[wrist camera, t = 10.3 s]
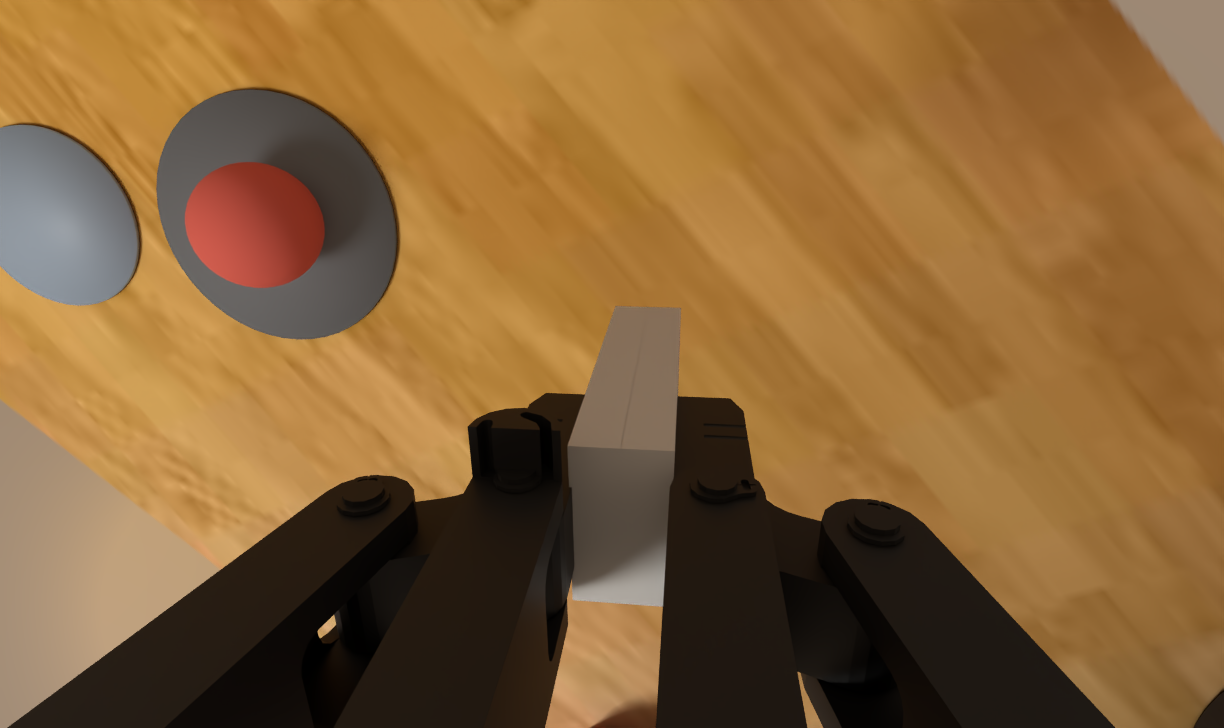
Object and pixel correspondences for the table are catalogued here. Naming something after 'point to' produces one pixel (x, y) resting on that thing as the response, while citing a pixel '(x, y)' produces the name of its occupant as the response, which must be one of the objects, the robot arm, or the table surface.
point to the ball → (254, 224)
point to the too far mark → (63, 218)
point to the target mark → (332, 174)
